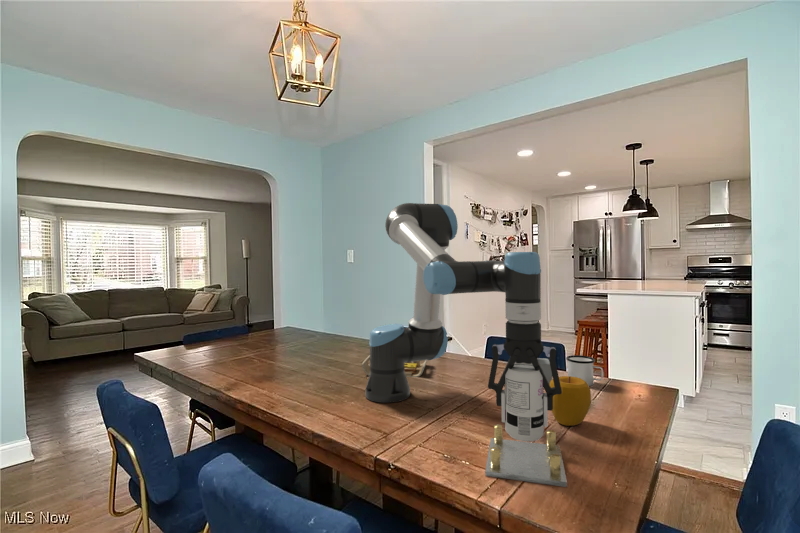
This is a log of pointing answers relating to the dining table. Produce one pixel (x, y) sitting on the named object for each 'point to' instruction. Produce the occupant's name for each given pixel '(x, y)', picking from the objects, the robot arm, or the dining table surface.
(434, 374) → the dining table surface
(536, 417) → the supplement can
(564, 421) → the apple
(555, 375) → the robot arm
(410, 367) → the toy food set
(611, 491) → the dining table surface
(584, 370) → the mug
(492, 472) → the plate
